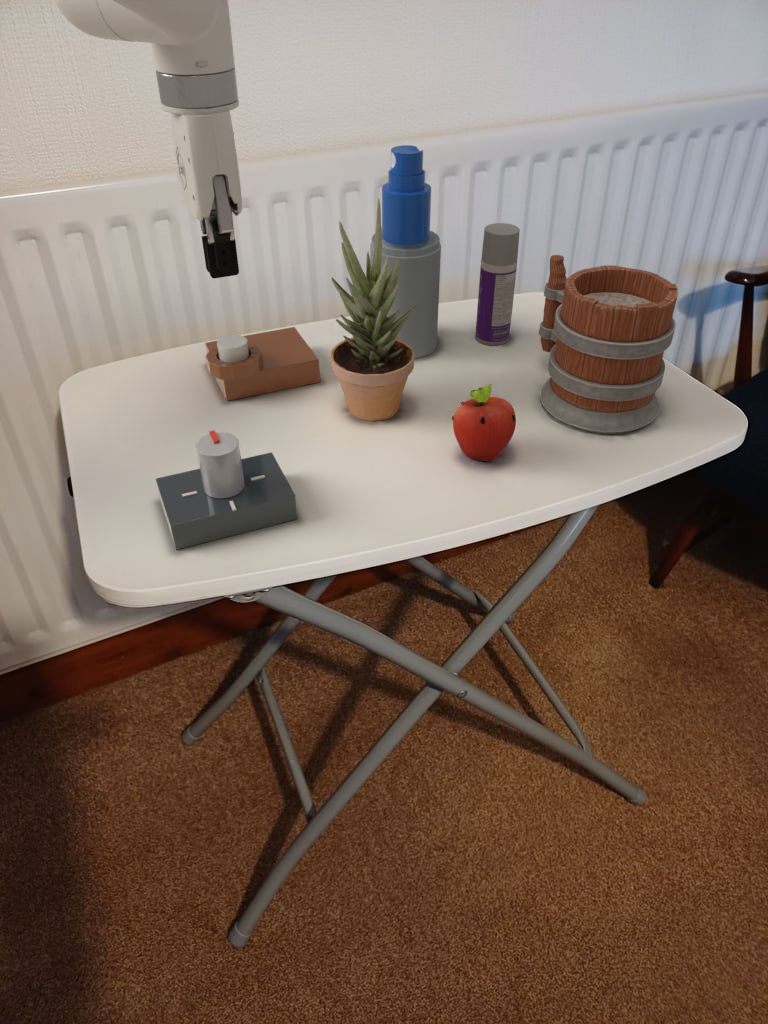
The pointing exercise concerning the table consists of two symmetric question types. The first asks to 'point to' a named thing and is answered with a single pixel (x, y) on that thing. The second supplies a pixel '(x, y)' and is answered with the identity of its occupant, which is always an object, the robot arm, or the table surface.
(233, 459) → the tap knob
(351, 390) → the potted plant
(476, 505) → the table surface
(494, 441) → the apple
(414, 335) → the spray bottle
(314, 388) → the table surface
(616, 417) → the mug
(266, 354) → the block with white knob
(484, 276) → the container
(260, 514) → the panel
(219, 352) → the white cylindrical plug
